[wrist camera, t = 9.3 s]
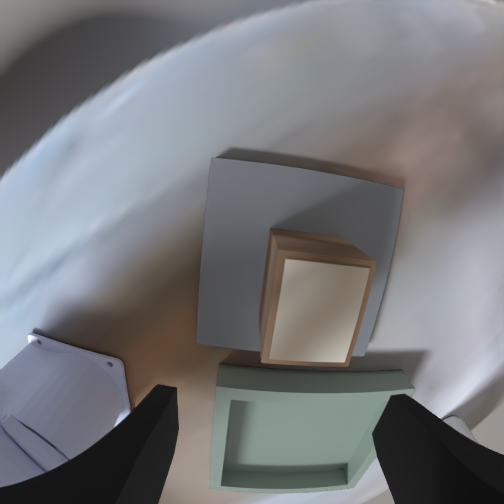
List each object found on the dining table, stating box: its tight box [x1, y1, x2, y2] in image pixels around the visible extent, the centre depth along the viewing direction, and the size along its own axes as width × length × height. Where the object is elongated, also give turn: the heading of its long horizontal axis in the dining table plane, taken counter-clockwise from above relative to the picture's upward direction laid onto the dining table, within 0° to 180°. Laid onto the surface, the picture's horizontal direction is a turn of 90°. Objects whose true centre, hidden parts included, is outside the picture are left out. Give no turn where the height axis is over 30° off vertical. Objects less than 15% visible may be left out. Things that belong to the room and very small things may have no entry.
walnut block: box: [259, 228, 377, 367], centre depth 14 cm, size 4×5×5 cm
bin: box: [209, 363, 415, 493], centre depth 19 cm, size 14×14×2 cm
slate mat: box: [196, 158, 404, 356], centre depth 17 cm, size 11×11×1 cm
